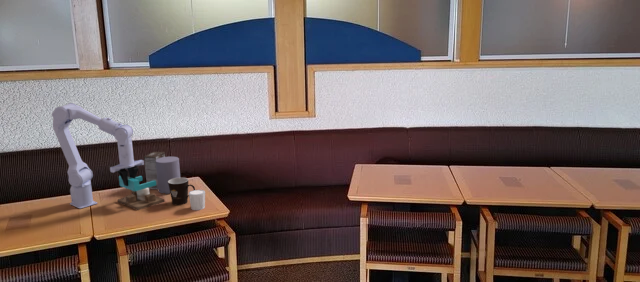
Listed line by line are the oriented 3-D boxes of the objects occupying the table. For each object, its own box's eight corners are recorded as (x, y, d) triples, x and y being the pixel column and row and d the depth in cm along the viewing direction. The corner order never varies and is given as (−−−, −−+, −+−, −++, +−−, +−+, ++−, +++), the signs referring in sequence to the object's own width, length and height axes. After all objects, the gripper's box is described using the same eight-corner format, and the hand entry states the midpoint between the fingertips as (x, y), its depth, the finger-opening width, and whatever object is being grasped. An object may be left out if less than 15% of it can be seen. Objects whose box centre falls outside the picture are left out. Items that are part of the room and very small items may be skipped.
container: (154, 193, 240) (151, 162, 237) (164, 186, 250) (161, 156, 247) (176, 194, 239) (173, 162, 235) (184, 187, 249) (182, 156, 245)
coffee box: (156, 183, 256) (153, 151, 252) (168, 183, 255) (165, 151, 251) (146, 189, 247) (143, 156, 243) (159, 189, 246) (156, 156, 242)
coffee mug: (166, 202, 229) (164, 180, 226) (183, 197, 235) (181, 176, 232) (180, 209, 221) (178, 186, 218) (197, 203, 226) (196, 181, 224)
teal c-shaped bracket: (141, 180, 236) (140, 170, 235) (156, 185, 228) (155, 175, 227) (119, 185, 228) (118, 176, 227) (134, 191, 220) (133, 181, 219)
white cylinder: (186, 208, 221) (184, 193, 219) (198, 203, 227) (197, 188, 225) (197, 211, 217) (196, 195, 216) (209, 206, 223) (208, 191, 221)
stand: (144, 194, 240) (142, 182, 239) (164, 201, 230) (163, 189, 229) (117, 202, 230) (116, 190, 229) (137, 210, 220) (136, 197, 219)
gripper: (114, 159, 214) (118, 190, 217) (146, 151, 224) (149, 181, 228) (106, 156, 218) (109, 187, 221) (137, 149, 229) (140, 178, 232)
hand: (129, 184), depth 225 cm, fingers closed on teal c-shaped bracket, 2 cm apart
